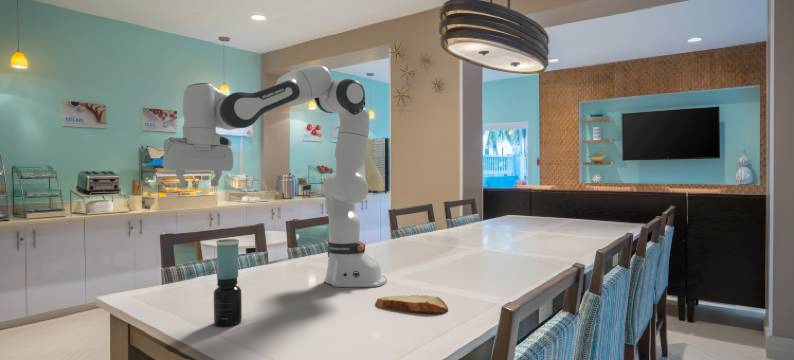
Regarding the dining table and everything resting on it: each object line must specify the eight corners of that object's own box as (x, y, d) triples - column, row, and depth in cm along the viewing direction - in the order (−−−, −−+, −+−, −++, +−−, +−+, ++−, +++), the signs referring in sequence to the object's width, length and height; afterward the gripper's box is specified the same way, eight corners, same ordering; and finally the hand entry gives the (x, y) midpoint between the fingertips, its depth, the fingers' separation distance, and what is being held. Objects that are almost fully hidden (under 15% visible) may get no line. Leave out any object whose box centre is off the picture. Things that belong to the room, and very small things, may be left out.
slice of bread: (370, 304, 136) (370, 292, 136) (423, 297, 144) (423, 285, 144) (397, 322, 120) (397, 308, 120) (454, 313, 128) (454, 300, 128)
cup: (242, 275, 120) (242, 239, 120) (231, 279, 115) (231, 242, 115) (223, 274, 121) (224, 238, 121) (212, 278, 116) (212, 241, 116)
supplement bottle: (218, 319, 121) (218, 274, 121) (244, 318, 122) (244, 274, 122) (210, 328, 114) (209, 280, 114) (237, 327, 115) (237, 280, 115)
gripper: (169, 136, 122) (170, 187, 122) (236, 140, 138) (236, 185, 138) (157, 137, 125) (158, 187, 126) (224, 141, 142) (224, 185, 142)
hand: (199, 186), depth 132 cm, fingers open, 8 cm apart
